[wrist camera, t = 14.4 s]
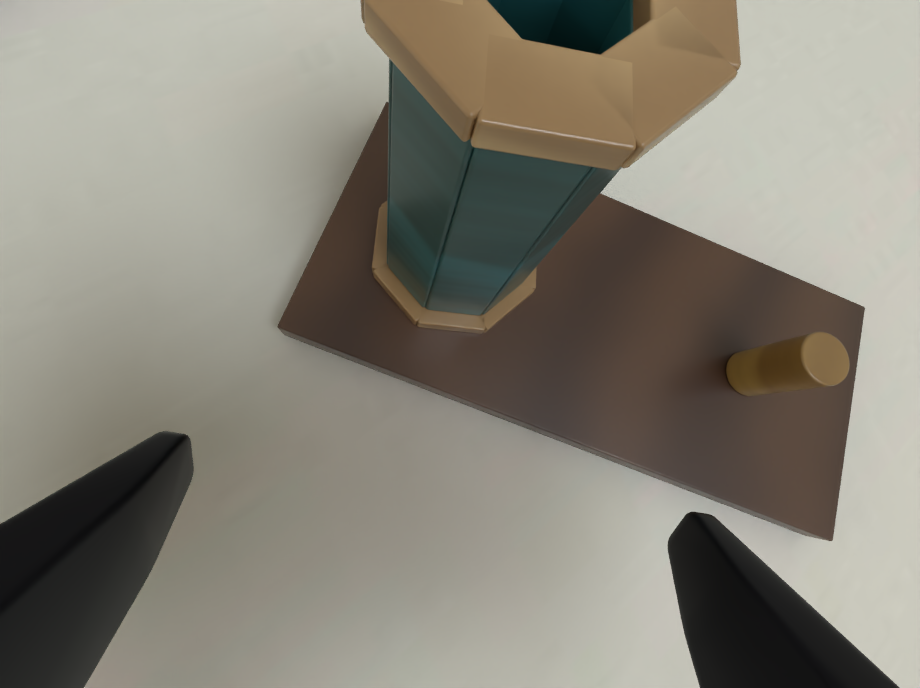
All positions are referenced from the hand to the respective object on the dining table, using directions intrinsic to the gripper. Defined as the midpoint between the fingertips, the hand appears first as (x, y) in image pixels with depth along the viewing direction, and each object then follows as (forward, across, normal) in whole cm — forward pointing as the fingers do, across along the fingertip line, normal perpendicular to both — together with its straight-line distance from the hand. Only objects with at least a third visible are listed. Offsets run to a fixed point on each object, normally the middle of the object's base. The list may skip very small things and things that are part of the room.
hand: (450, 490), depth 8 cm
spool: (+11, 0, 0) cm, 11 cm away
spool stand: (+11, -6, +2) cm, 13 cm away
